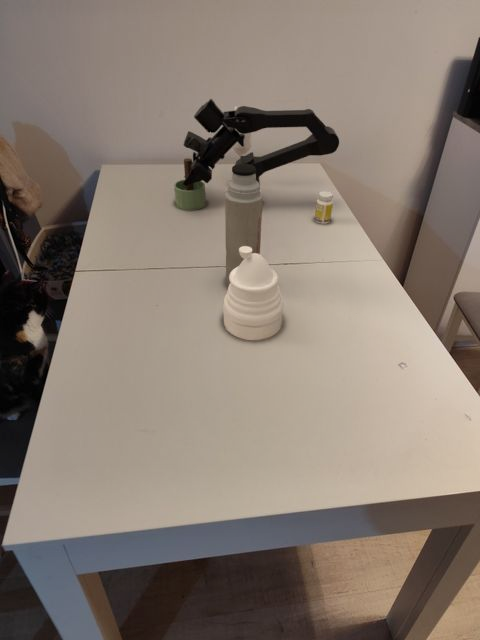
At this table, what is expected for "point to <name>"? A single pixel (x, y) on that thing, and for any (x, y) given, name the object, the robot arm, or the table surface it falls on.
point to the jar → (190, 196)
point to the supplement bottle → (324, 207)
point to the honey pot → (253, 299)
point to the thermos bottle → (242, 215)
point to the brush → (187, 170)
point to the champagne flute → (247, 143)
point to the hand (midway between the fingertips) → (184, 181)
